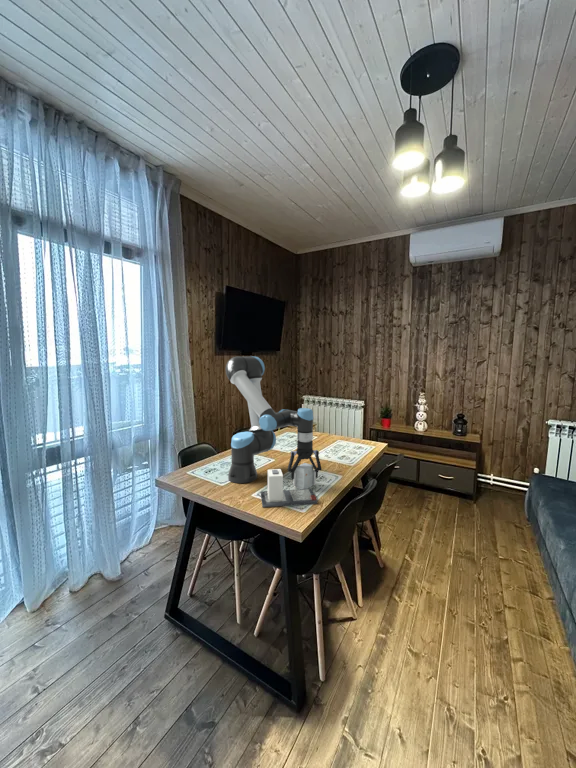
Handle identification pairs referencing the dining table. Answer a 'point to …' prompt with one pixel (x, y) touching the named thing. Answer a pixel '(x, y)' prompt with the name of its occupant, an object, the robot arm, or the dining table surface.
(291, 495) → the strip board
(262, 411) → the robot arm
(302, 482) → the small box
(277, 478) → the twin plug
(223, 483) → the dining table surface
